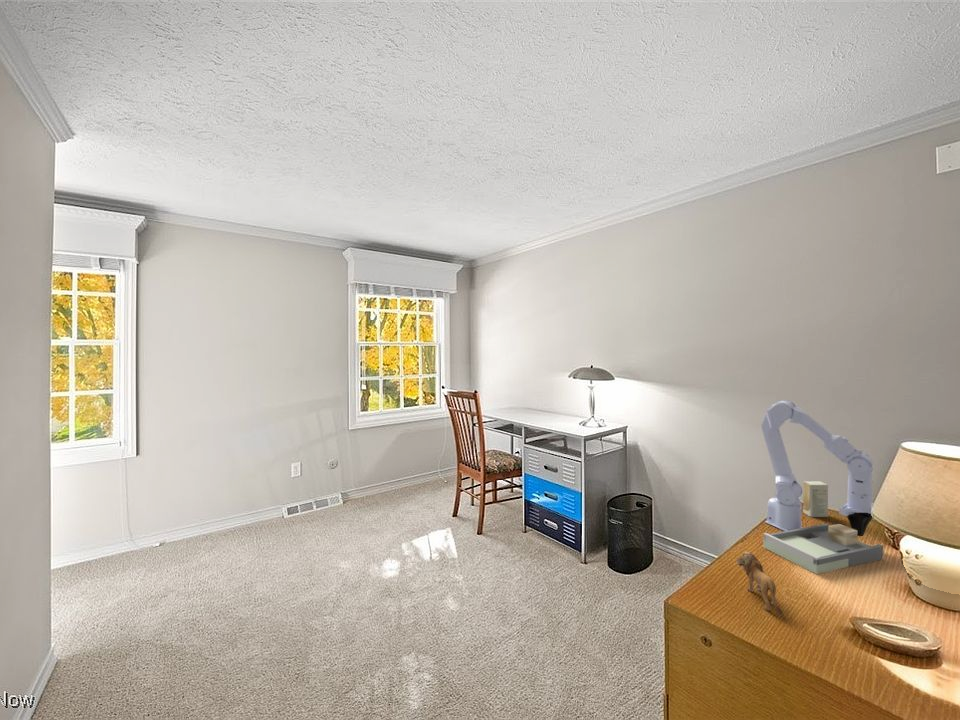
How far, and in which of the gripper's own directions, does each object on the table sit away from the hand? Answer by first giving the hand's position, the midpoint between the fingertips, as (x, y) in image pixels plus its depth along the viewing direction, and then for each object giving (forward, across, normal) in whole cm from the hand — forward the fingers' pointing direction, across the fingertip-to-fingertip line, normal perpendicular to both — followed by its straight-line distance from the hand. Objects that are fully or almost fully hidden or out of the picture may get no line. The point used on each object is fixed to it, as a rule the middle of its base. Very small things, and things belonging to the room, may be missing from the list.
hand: (858, 534), depth 133 cm
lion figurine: (+4, -54, -11) cm, 55 cm away
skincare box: (+4, +12, +21) cm, 24 cm away
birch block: (+1, -7, 0) cm, 7 cm away
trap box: (+3, -16, 0) cm, 16 cm away
